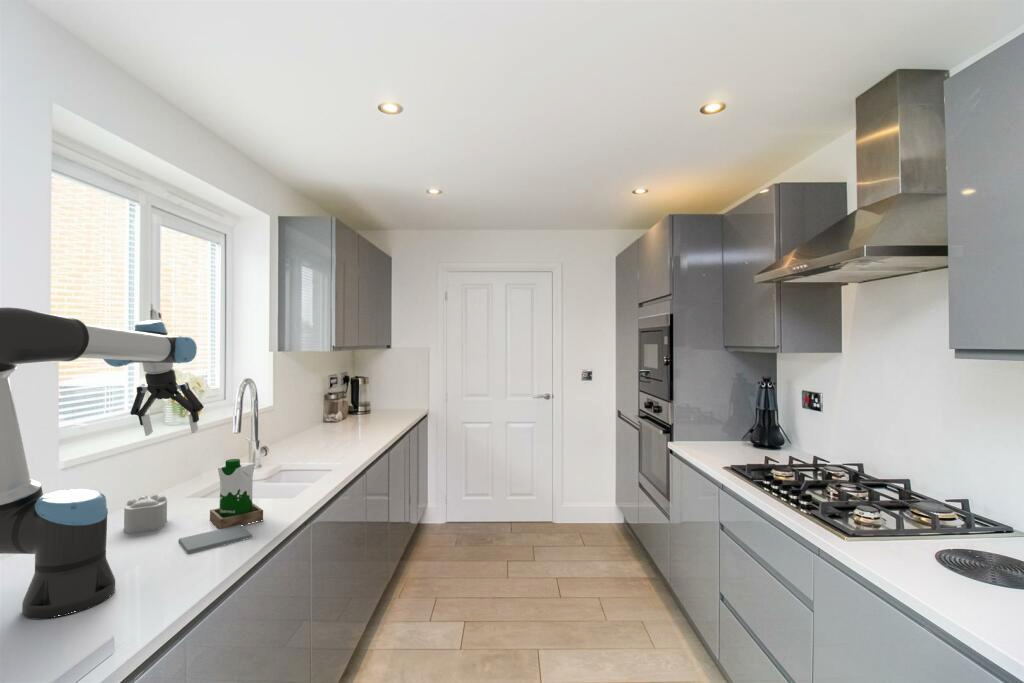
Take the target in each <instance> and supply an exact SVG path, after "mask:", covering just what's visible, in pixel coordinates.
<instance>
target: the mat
mask: <svg viewBox="0 0 1024 683" xmlns="http://www.w3.org/2000/svg"><path fill="white" fill-rule="evenodd" d="M250 537H252V538H253V533H251V532H250V531H249V530H248V529H246V527H244V526H241V525H236V526H232V527H227V528H223V529H215V530H211V531H206V532H202V533H197V534H194V535H189V536H183V537H181V538H178V544H180V546H181V547H182V548H183V549H184V551H185V552H186V553H187V555H189V554H193V553H196V552H200V551H205V550H209V549H212V548H216V547H220V546H224V544H225V545H228V543H229V544H231V542H233V543H236V542H235V541H237V542H240V540H241V541H244V540H243V539H245V540H247V539H246V538H249V539H251V538H250Z"/></svg>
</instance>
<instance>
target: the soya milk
mask: <svg viewBox="0 0 1024 683" xmlns="http://www.w3.org/2000/svg"><path fill="white" fill-rule="evenodd" d="M255 466H256V462H241V459H240V458H231V459H227V460H225V465H222V466H220V467H217V471H218V476H219V507H218V508H219V515H220V516H221V517H222V518H226V517H231V516H235V515H240V514H244V513H249V512H253V507H252V503H253V485H254V484H253V482H254V481H253V476H254V470H255Z"/></svg>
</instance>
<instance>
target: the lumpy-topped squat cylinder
mask: <svg viewBox="0 0 1024 683" xmlns="http://www.w3.org/2000/svg"><path fill="white" fill-rule="evenodd" d="M123 511H124V512H123V515H124V516H123V532H124V533H125V532H126V533H125V534H134V532H136V533H139V532H140V531H141V532H149V531H148V530H150V531H154V529H156V530H158V528H159V529H162V528H163V527H165V525H167V523H168V517H167V516H168V499H167V497H166V496H165V495H160V496H159V495H158V494H157V493H155V494H151V495H150V496H147V495H145V494H144V495H141V496H140V497H138V499H136V498H130V499H129V500H128V501H127V504H125V506H124V510H123Z"/></svg>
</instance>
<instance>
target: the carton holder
mask: <svg viewBox="0 0 1024 683" xmlns="http://www.w3.org/2000/svg"><path fill="white" fill-rule="evenodd" d="M252 507H253V512H249V513H244V514H240V515H235V516H231V517H226V518H222V517H221V516H220V515H219V508H220V507H218V508H217V507H216V508H213V509H209V521H211V522H212V525H214V527H215V528H217V530H219V529H223V528H227V527H232V526H236V525H244V526H246V525H245V524H248V523H252V522H256V521H261V520H263V521H264V510H263V508H261V507H260V506H258V505H257V504H255V503H254V502H252ZM211 522H210V523H211ZM261 522H262V521H261ZM248 525H249V524H248Z"/></svg>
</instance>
